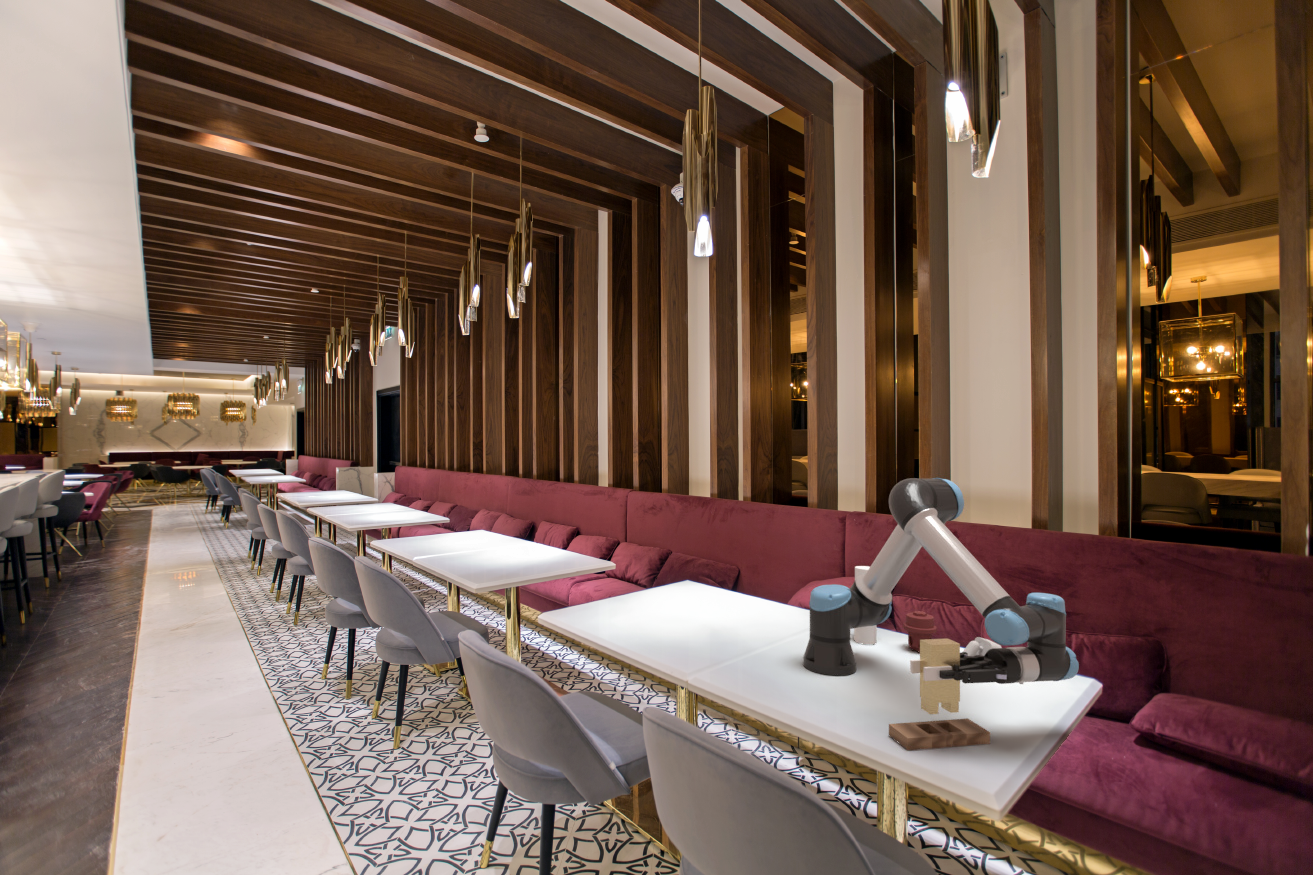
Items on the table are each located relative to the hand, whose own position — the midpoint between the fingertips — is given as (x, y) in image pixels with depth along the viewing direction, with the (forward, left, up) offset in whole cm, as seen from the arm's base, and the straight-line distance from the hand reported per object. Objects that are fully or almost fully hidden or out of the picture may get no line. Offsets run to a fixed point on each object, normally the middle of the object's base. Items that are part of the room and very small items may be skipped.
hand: (918, 670), depth 133 cm
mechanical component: (+1, +71, -16) cm, 73 cm away
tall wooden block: (+5, +3, -9) cm, 10 cm away
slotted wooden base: (+4, +3, -15) cm, 16 cm away
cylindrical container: (-16, +73, -16) cm, 76 cm away
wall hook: (+16, +59, -16) cm, 63 cm away
